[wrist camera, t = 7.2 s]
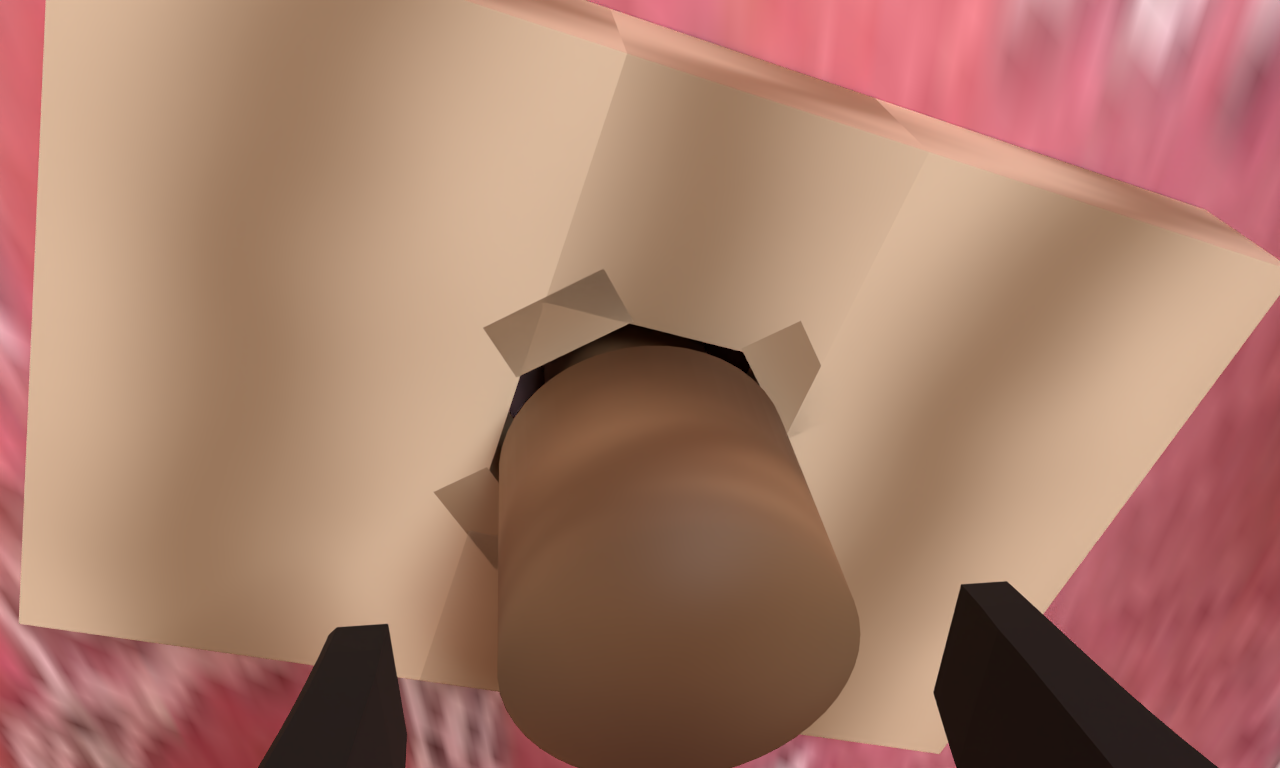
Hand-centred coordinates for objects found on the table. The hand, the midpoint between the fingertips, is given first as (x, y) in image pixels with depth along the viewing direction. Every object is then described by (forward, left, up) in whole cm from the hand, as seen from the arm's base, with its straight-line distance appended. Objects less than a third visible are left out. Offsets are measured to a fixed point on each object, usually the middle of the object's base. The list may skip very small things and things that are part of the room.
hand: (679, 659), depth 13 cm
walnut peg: (0, 0, -7) cm, 7 cm away
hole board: (0, 0, -7) cm, 7 cm away
